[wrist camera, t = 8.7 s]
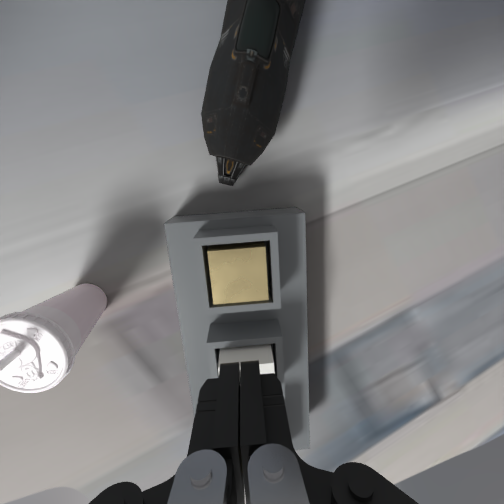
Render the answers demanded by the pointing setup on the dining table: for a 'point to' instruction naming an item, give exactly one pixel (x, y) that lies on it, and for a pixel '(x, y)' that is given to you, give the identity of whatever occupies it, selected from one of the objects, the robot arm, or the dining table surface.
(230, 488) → the robot arm
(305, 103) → the dining table surface
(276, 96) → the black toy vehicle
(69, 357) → the smoothie
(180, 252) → the console
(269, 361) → the white square block
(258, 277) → the brass metal cube
